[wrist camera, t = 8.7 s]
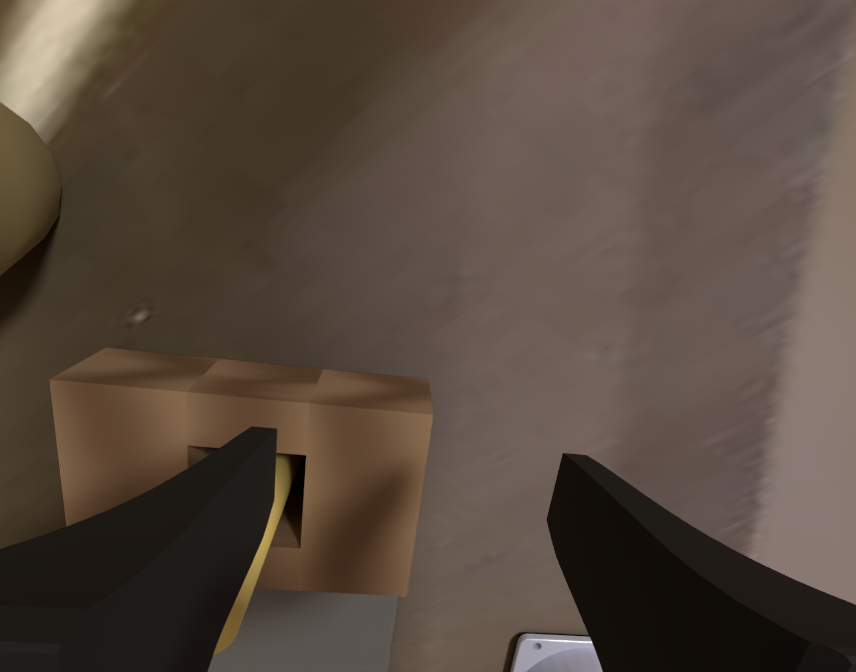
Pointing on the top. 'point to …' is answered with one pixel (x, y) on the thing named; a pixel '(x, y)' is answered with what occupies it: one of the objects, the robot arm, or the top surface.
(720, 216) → the top surface
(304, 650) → the mat
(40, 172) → the squeeze bottle
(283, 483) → the peg
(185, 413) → the walnut block
